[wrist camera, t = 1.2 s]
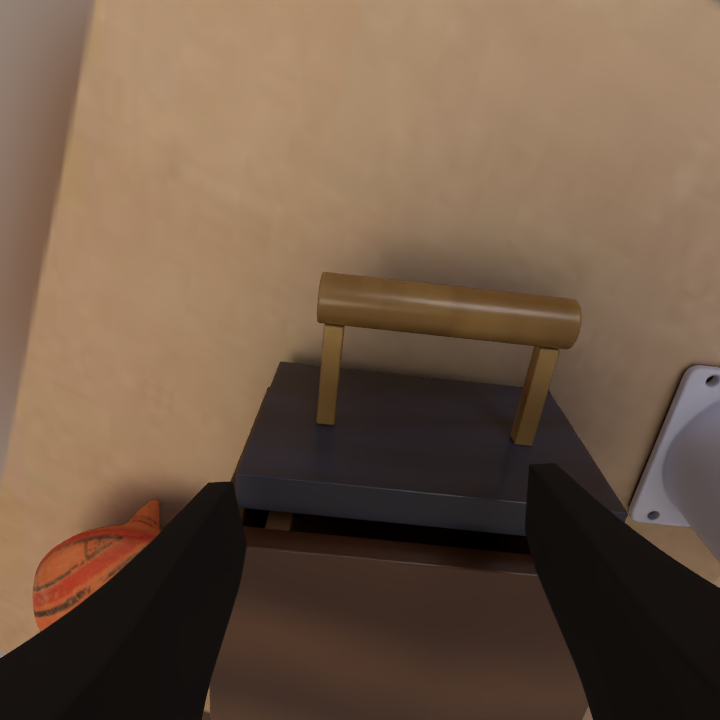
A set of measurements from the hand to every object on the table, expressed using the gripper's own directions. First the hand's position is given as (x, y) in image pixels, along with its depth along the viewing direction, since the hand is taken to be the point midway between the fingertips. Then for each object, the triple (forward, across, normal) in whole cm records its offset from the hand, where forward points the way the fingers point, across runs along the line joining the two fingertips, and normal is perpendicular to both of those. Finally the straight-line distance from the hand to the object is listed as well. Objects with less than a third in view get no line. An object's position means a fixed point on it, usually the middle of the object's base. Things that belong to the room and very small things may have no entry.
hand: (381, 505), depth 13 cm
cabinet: (+10, 0, +9) cm, 13 cm away
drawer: (+9, -1, +5) cm, 10 cm away
